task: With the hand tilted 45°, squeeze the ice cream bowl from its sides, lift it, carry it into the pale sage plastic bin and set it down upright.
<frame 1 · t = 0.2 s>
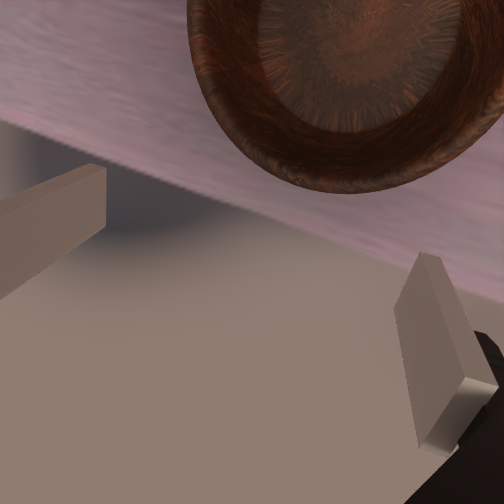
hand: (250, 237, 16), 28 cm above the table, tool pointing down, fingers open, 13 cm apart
wooden bowl: (353, 32, 36), on the table
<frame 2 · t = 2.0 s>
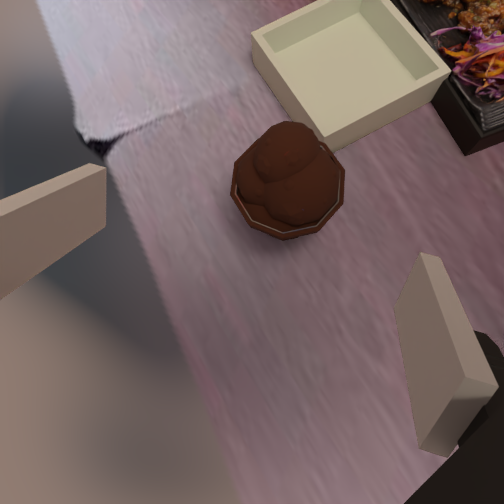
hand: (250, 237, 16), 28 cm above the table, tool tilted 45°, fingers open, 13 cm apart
bin: (340, 80, 51), on the table
ice cream bowl: (284, 219, 46), on the table
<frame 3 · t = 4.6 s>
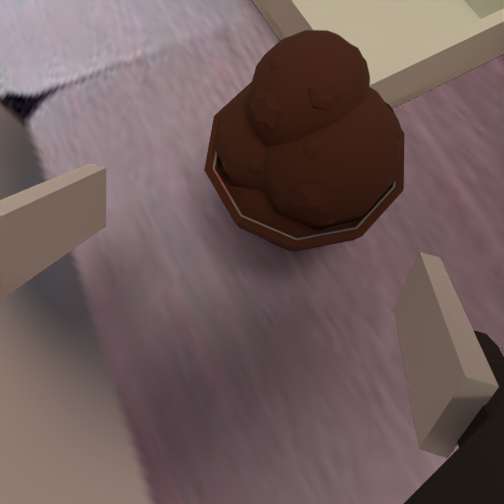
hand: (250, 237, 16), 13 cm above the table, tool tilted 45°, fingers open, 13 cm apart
bin: (374, 22, 35), on the table
ice cream bowl: (292, 217, 30), on the table
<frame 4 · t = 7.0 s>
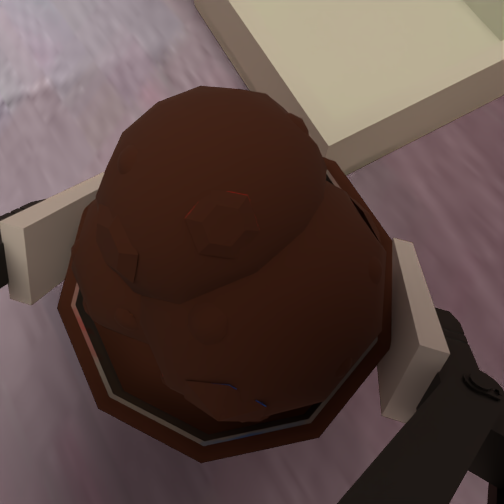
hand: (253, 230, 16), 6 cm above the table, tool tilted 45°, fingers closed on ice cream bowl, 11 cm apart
bin: (356, 41, 27), on the table
ice cream bowl: (241, 314, 22), on the table, touching gripper
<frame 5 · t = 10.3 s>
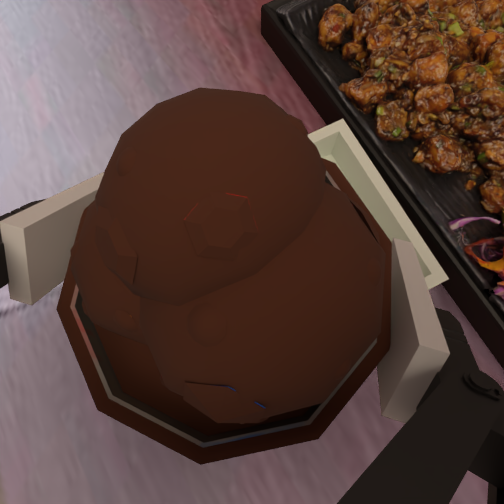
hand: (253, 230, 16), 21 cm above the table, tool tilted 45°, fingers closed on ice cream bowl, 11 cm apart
bin: (300, 251, 38), on the table
food platter: (464, 137, 42), on the table
ice cream bowl: (240, 315, 22), point 14 cm above the table, touching gripper
when the fingers open (9 cm above the table, at t = 13.8 s): ice cream bowl drops 2 cm, resting on bin.
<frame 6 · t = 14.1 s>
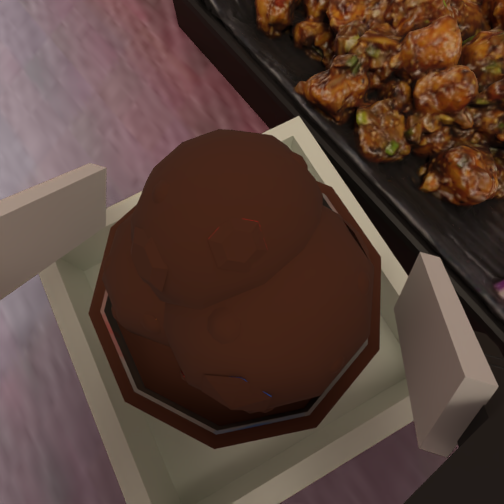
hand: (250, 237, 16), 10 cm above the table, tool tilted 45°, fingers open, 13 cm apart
bin: (243, 320, 24), on the table
food platter: (483, 142, 29), on the table
ice cream bowl: (246, 322, 24), point 1 cm above the table, touching bin
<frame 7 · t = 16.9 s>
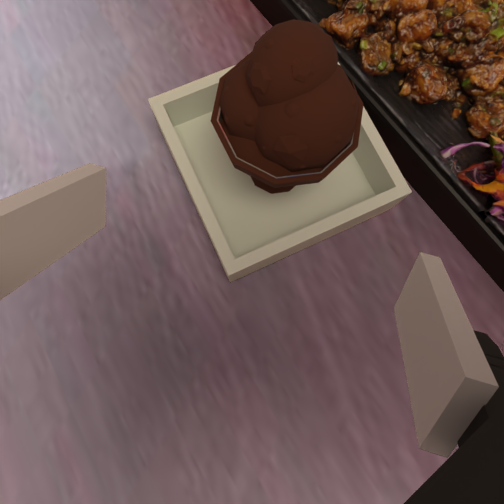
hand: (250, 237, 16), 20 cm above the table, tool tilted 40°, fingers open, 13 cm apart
bin: (273, 168, 38), on the table
food platter: (443, 68, 42), on the table
ice cream bowl: (275, 167, 37), point 1 cm above the table, touching bin
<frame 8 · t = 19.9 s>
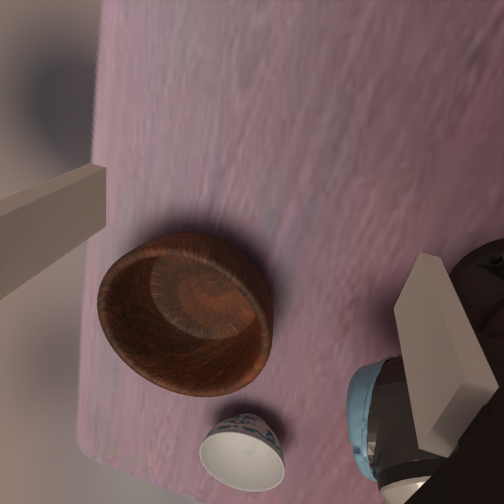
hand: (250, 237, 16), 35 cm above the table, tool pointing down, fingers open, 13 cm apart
wooden bowl: (204, 290, 61), on the table
chinaware: (251, 424, 73), on the table
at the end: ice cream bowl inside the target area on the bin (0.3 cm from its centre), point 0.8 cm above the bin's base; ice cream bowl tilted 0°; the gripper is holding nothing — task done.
